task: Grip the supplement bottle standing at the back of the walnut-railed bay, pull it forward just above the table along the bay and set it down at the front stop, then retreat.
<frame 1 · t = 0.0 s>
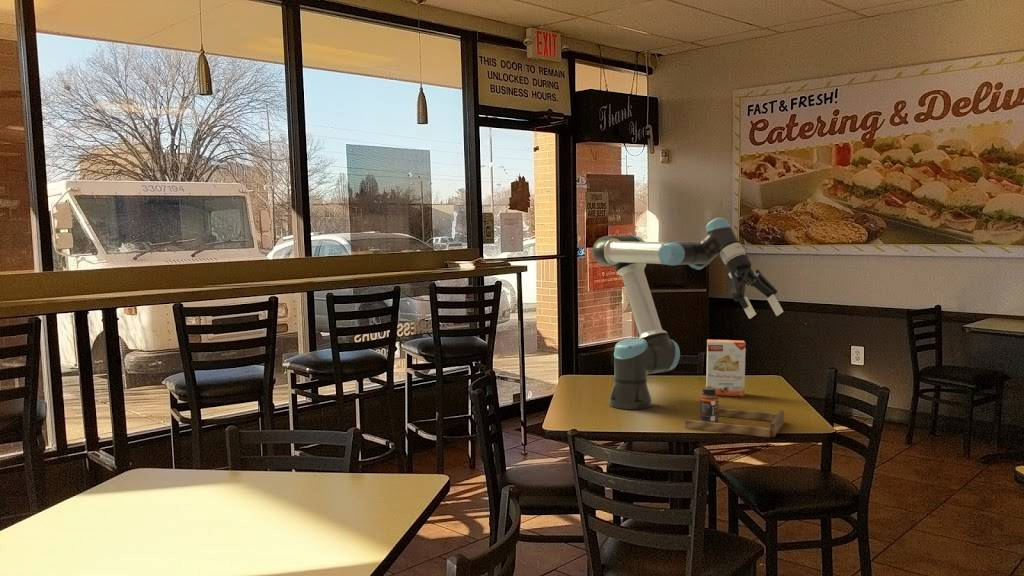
hand: (766, 315, 251), 36 cm above the table, tool tilted 35°, fingers open, 13 cm apart
supplement bottle: (708, 422, 259), on the table
cracker box: (725, 395, 302), on the table
bay: (733, 424, 256), on the table
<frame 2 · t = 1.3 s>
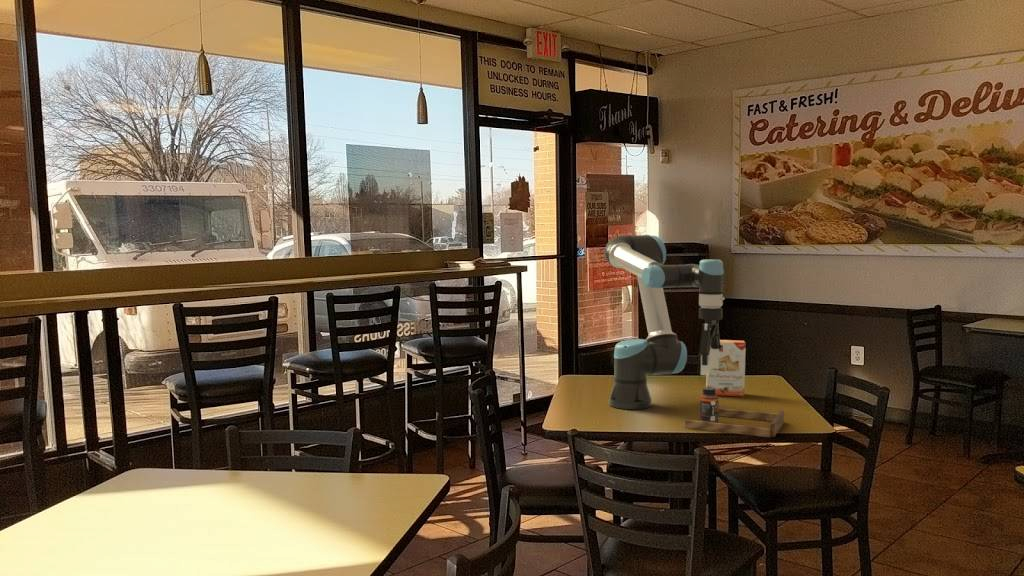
hand: (709, 371, 258), 17 cm above the table, tool pointing down, fingers open, 13 cm apart
nothing on the table moved.
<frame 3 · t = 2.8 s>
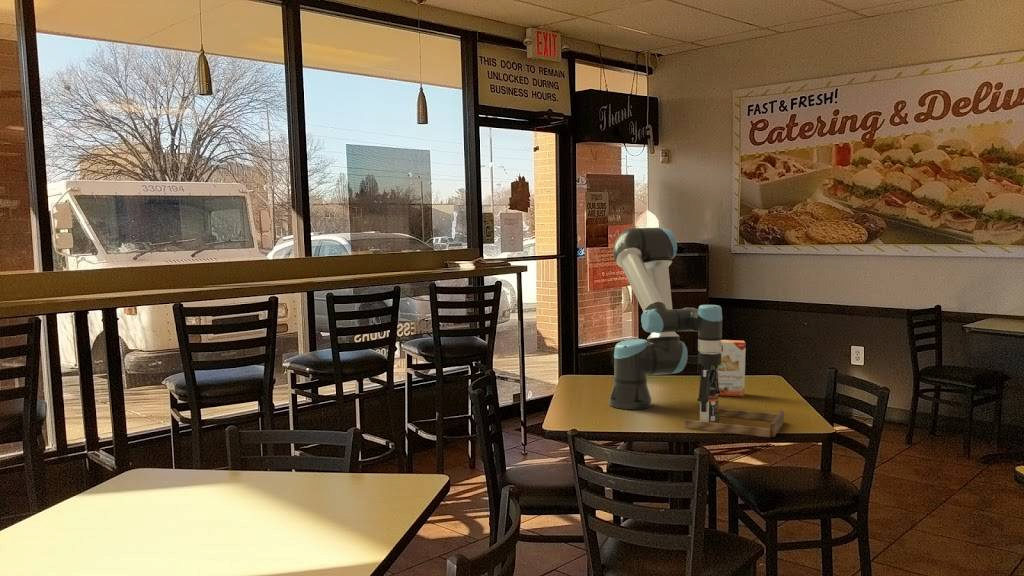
hand: (708, 417, 259), 2 cm above the table, tool pointing down, fingers open, 12 cm apart
nothing on the table moved.
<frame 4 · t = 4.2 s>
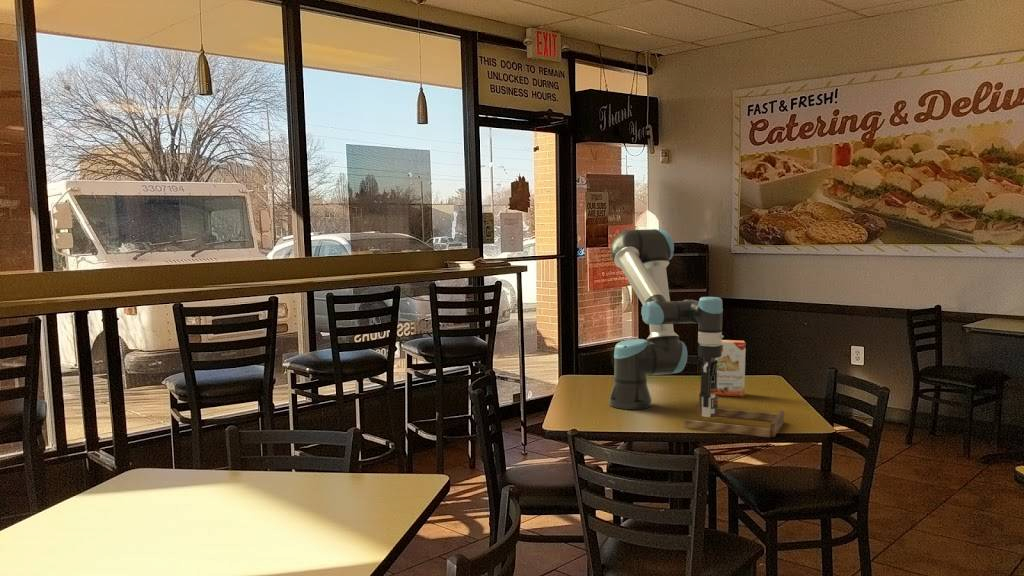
hand: (708, 414, 259), 3 cm above the table, tool pointing down, fingers closed on supplement bottle, 6 cm apart
supplement bottle: (708, 415, 259), point 2 cm above the table, touching gripper
everything else where it was.
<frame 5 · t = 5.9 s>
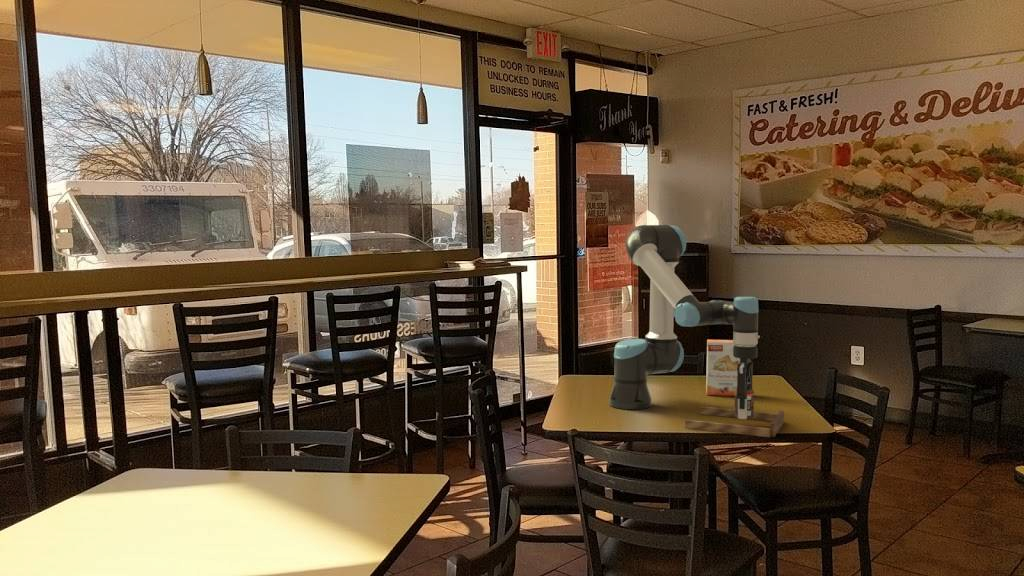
hand: (744, 416, 254), 3 cm above the table, tool pointing down, fingers closed on supplement bottle, 6 cm apart
supplement bottle: (743, 417, 254), point 3 cm above the table, touching gripper
everything else where it was.
when the fingers open (1 cm above the table, at t = 7.6 s): supplement bottle drops 1 cm, on the table.
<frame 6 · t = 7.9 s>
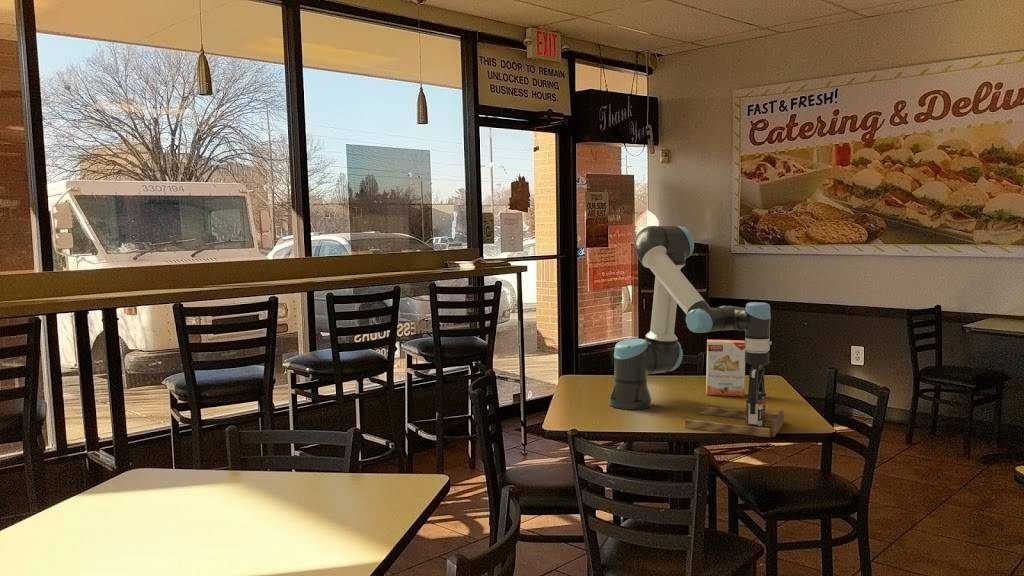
hand: (755, 420, 252), 2 cm above the table, tool pointing down, fingers open, 10 cm apart
supplement bottle: (755, 427, 253), on the table
everything else where it was.
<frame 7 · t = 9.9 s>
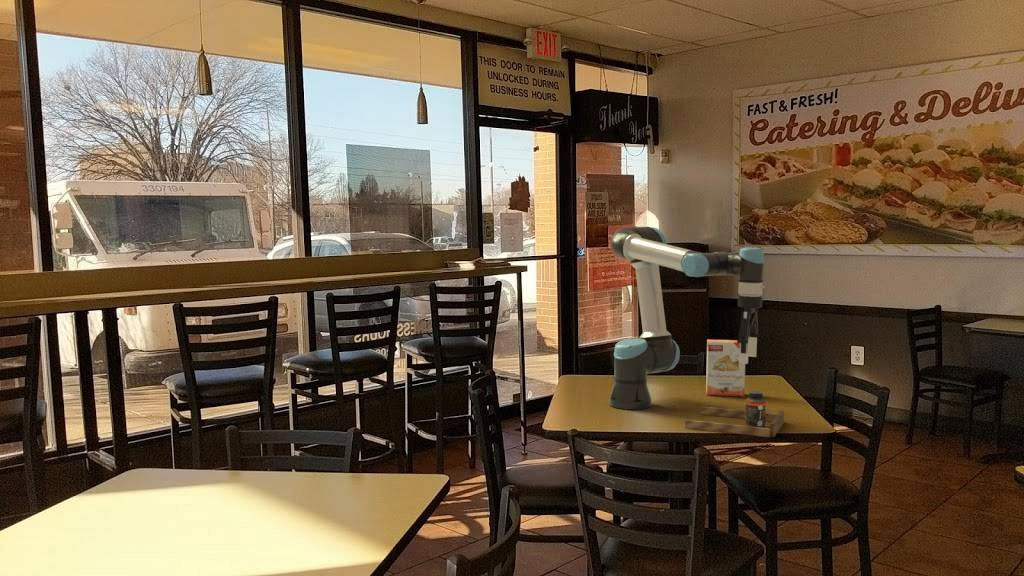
hand: (747, 359, 258), 20 cm above the table, tool pointing down, fingers open, 13 cm apart
nothing on the table moved.
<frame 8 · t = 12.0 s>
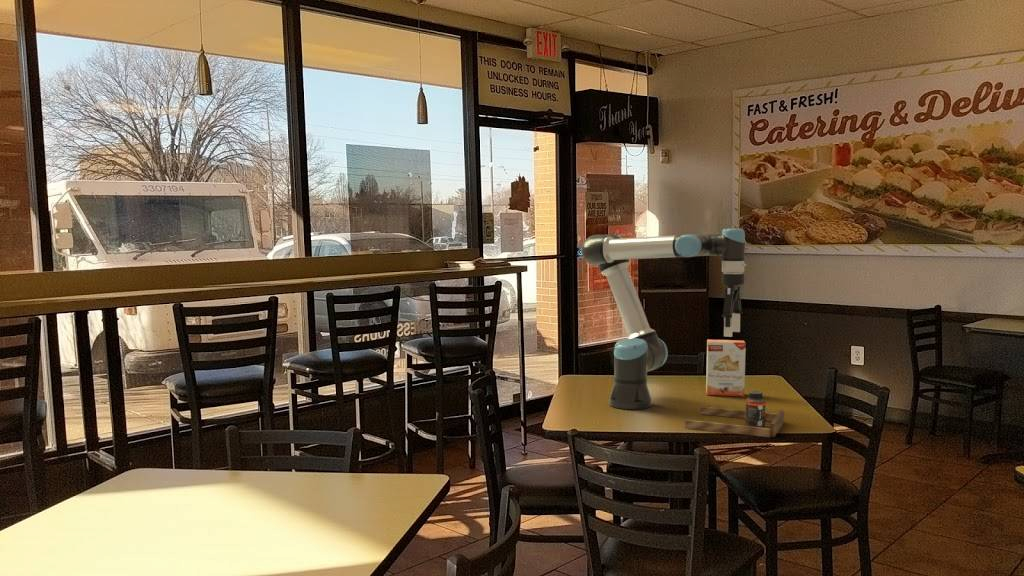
hand: (732, 334, 275), 27 cm above the table, tool pointing down, fingers open, 13 cm apart
nothing on the table moved.
at the end: supplement bottle inside the target area (1.7 cm from its centre), on the table; supplement bottle tilted 0°; the gripper is holding nothing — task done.
